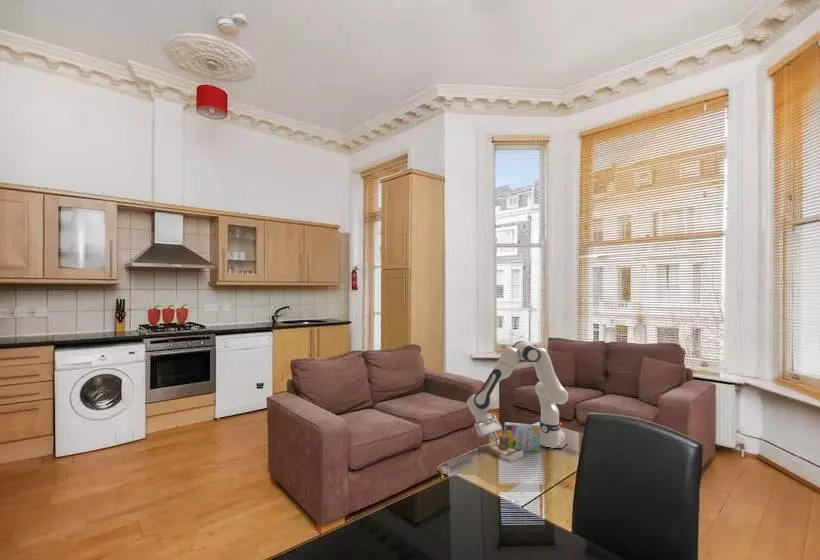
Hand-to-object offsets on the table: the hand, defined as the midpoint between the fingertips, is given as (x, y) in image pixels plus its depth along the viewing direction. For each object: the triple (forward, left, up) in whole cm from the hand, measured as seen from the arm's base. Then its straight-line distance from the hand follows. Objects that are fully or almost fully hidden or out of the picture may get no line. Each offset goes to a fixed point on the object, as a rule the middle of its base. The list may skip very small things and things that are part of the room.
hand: (495, 440), depth 250 cm
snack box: (-16, +8, -6) cm, 19 cm away
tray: (0, +12, -6) cm, 13 cm away
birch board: (0, +6, -6) cm, 8 cm away
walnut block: (0, +6, -3) cm, 6 cm away
